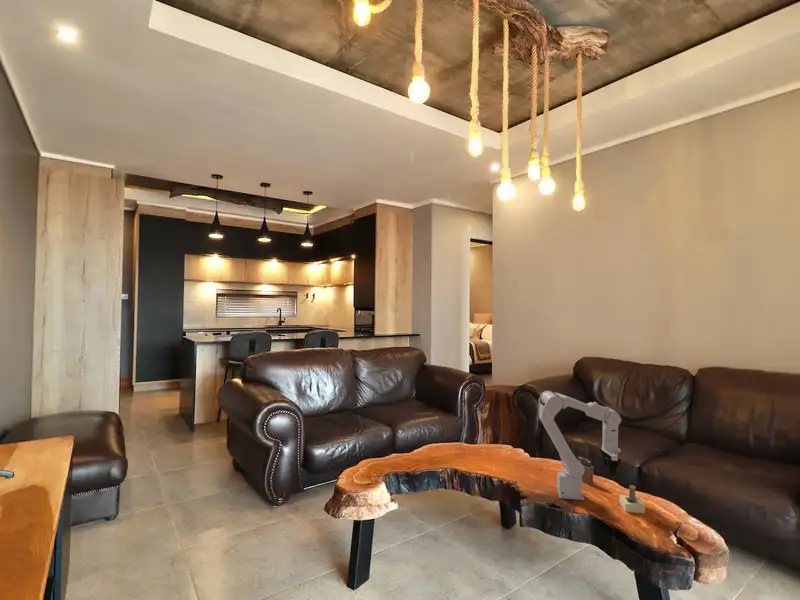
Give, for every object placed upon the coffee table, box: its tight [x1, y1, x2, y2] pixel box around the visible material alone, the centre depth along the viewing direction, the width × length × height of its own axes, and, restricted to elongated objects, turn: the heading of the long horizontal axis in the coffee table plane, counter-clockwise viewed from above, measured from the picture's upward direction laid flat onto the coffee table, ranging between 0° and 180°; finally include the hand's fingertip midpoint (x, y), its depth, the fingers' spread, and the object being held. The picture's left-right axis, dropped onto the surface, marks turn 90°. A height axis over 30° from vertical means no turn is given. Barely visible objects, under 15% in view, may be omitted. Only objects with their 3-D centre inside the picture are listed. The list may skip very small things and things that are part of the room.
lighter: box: [577, 456, 595, 486], centre depth 187 cm, size 8×3×10 cm, turn 30°
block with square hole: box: [619, 494, 646, 514], centre depth 165 cm, size 7×7×3 cm
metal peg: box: [628, 484, 636, 503], centre depth 165 cm, size 2×2×9 cm
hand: (609, 470), depth 174 cm, fingers open, 7 cm apart
